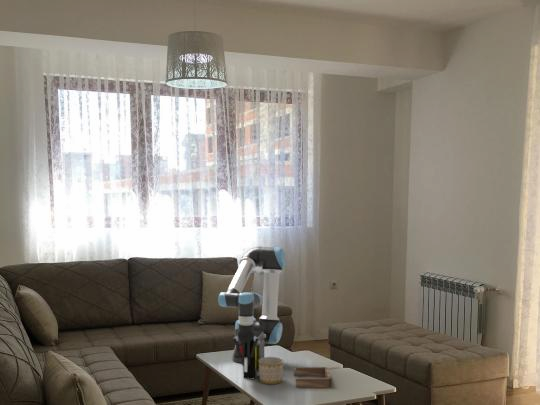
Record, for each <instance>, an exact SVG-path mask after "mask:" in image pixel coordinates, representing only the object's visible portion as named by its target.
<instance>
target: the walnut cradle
mask: <svg viewBox="0 0 540 405" xmlns="http://www.w3.org/2000/svg"><path fill="white" fill-rule="evenodd" d="M299 376H303V377H299ZM306 376H307V377H306ZM308 376H311V377H308ZM312 376H316V377H312ZM317 376H320V377H317ZM321 376H322V377H321ZM323 376H324V377H323ZM293 377H295V388H332V377H331V374H330V372H329V370H328V367H327V366H324V367H323V366H320V367H319V366H316V367H315V366H313V367H312V366H311V367H310V366H308V367H307V366H306V367H305V366H302V367H297V366H294V367H293ZM304 377H305V378H304Z"/></svg>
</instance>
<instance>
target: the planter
mask: <svg viewBox="0 0 540 405" xmlns="http://www.w3.org/2000/svg"><path fill="white" fill-rule="evenodd" d="M258 361H259V373H260V376H259V379H260V382H261V383H262V384H265V385H277V384H280V383H282V380H283V373H284V371H283V370H284V362H285V360H284V359H283V358H281V357H277V356H264V358H261V359H259V360H258Z"/></svg>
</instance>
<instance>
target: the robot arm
mask: <svg viewBox="0 0 540 405" xmlns="http://www.w3.org/2000/svg"><path fill="white" fill-rule="evenodd" d="M285 252H286V251H285V250H284V248H282V247H279V246H278V247H276V246H255V247H252V248H251V249H249V250H248V251H246V252H245V253H244V254H243V255H242V256H241V258H240V260H239V266H238V268H237V270H236V272H235V274H234V276H233V278H232V280H231V282H230V283H229V286H228V288H227V290H226V291H224V292H223V291H221V292H220V293H219V295H218V300H217V302H218V305H219V306H220V307H224V308H232V309H233V308H237V309H238V320H236V321H235V324H234V325H235V326H234V334H235V336H234V337H233V339H232V340H233V342H234V343H235V345H234V349H233V352H232V355H231V359H232V361H233V363H234V362H235V363H237V364H239V363H240V364H241V365H242V366H243V373H244V372H247V365H249V364H250V358H251V357H253V355H254V351H255V347H256V343H257V342H258V340H259V338H258V337H256V336H255V335H254V331H262V332H263V334H266V338H263V339H264V344H269V345H270V344H273V345H274V344H278V343H279V342H280V340H281V337H282V334H283V323H282V322H280V318H279V317H278V307H279V306H278V301H279V288H280V287H279V286H280V274H281V273H282V272H283V269H284V268H286V265H287V256H286V253H285ZM259 267H260V268H261V270H262V272H264V274H263V275H264V276H263V292H262V293H263V294H262V296H261V295H260V294H259V293H257V292H250V291H249V292H248V291H246V292H243V290H244V288H245V286H246V284H247V281H248V279H249V277H250V275H251V273H252V272H253V271H254V270H255V269H256V268H259ZM261 304H262V305H261ZM259 306H262V309H261V310H262V311H261V315H260V316H259V318H258V320H257V319H256V318H255V317H254V316H255V315H254V314H255V313H254V311H255V309H257V308H259ZM253 338H254V344H253V348H252V353H251V354H250V342H251V341H252V339H253ZM241 342H242V345H241ZM245 343H247V357H245ZM240 346H242V354H241V350H240Z"/></svg>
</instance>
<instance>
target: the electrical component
mask: <svg viewBox="0 0 540 405" xmlns="http://www.w3.org/2000/svg"><path fill="white" fill-rule="evenodd" d="M254 335H255V336H256V337H258V338H259V340H258V342H257V343H256V347H255V351H254V355H253V357H251V358H250V364H249V365H247V372H244V371H243V379H252V378H253V379H257V378H258V377H260V373H259V361H258V360H259V359H261V358H264V357H265V343H264V339H263V338H266V334H263V332H262V331H254ZM253 344H254V338H253V339H252V341H251V342H250V354H251V353H252V348H253ZM241 345H242V342H241ZM240 350H241V354H242V346H240ZM245 357H247V343H245Z"/></svg>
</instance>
